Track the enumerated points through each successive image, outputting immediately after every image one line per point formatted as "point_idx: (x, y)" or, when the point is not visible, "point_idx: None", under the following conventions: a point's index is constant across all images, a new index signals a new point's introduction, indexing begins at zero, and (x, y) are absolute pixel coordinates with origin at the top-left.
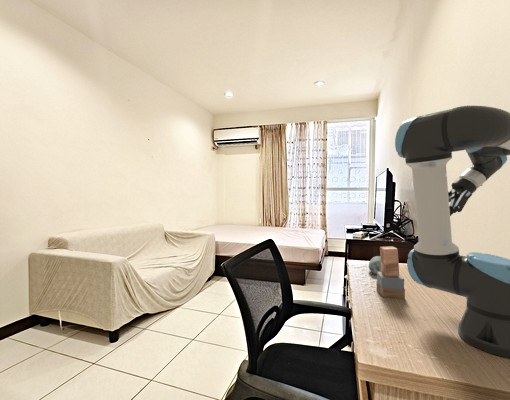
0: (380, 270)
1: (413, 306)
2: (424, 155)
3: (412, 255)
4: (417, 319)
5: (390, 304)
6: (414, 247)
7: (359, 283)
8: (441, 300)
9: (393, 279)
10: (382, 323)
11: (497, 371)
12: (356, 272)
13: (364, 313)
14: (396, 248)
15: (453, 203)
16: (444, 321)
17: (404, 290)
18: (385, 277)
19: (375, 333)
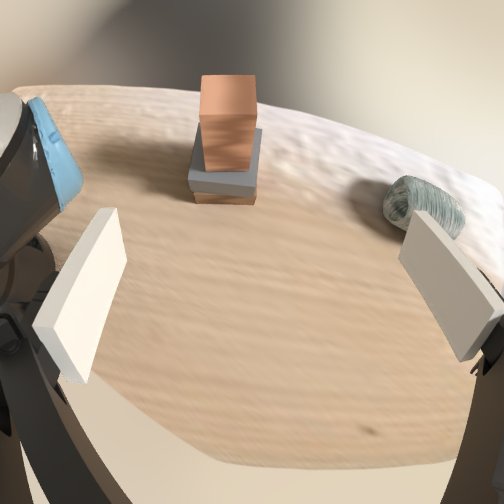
0: (386, 203)
1: (146, 203)
2: None
3: (26, 104)
4: (86, 184)
5: (156, 155)
6: (5, 92)
7: (302, 128)
8: (192, 298)
9: (193, 152)
10: (78, 119)
11: None
12: (399, 155)
13: (116, 98)
14: (206, 113)
15: (18, 427)
16: (78, 235)
17: (194, 195)
18: (200, 132)
19: (54, 105)
